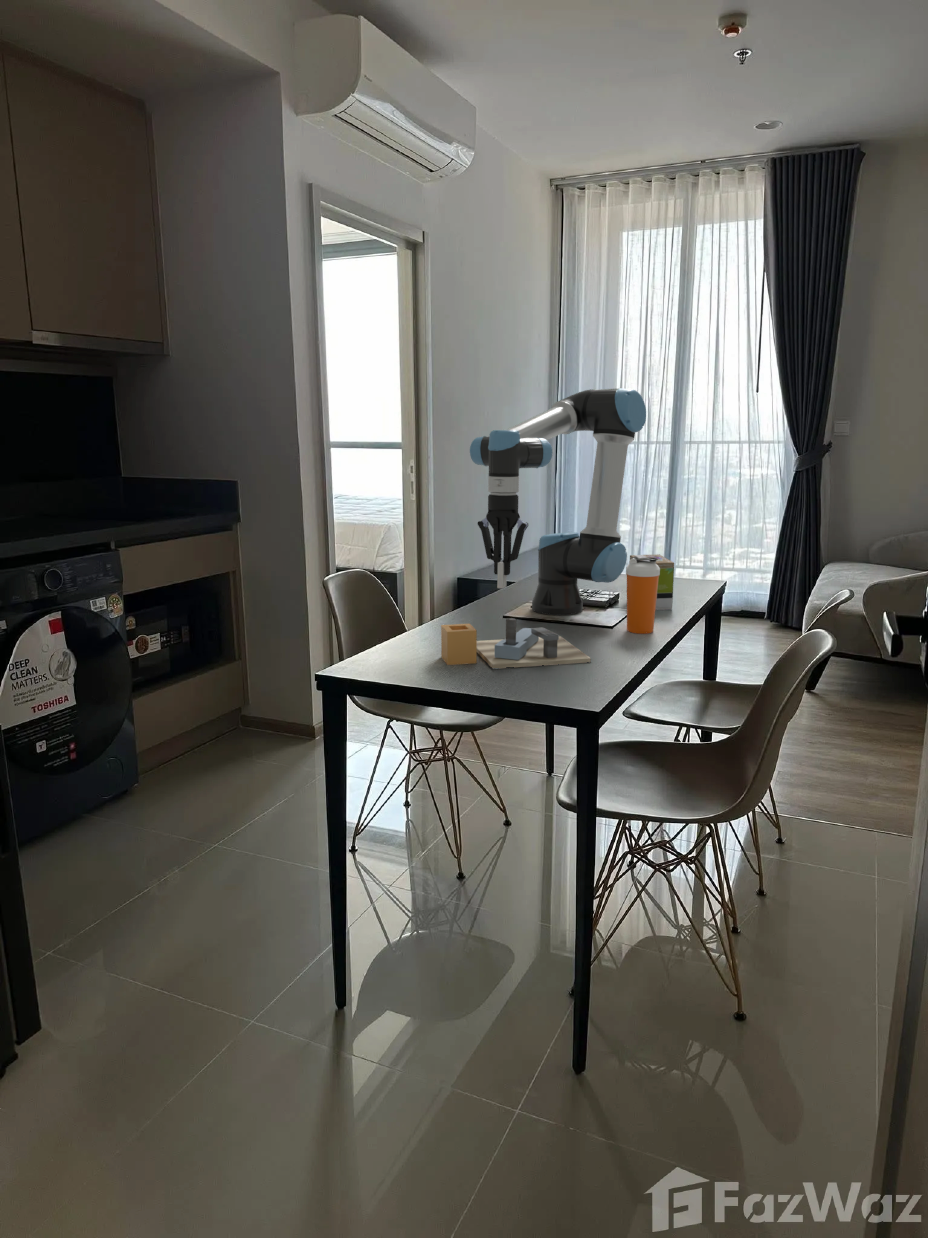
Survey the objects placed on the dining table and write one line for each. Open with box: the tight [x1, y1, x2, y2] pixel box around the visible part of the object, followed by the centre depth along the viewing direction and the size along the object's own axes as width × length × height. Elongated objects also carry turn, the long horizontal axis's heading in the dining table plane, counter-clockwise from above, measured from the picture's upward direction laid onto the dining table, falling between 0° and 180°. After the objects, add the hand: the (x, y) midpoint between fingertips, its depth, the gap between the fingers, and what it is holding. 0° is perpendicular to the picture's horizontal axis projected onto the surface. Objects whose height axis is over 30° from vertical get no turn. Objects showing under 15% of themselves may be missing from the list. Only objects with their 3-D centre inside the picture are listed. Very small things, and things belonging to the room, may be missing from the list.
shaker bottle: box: [625, 556, 660, 635], centre depth 235 cm, size 9×9×20 cm
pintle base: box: [477, 617, 592, 669], centre depth 214 cm, size 22×24×10 cm
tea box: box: [629, 554, 675, 611], centre depth 267 cm, size 15×10×15 cm, turn 5°
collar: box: [440, 623, 478, 666], centre depth 208 cm, size 7×7×8 cm
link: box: [495, 627, 539, 660], centre depth 214 cm, size 19×6×3 cm, turn 158°
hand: (501, 587), depth 221 cm, fingers closed
